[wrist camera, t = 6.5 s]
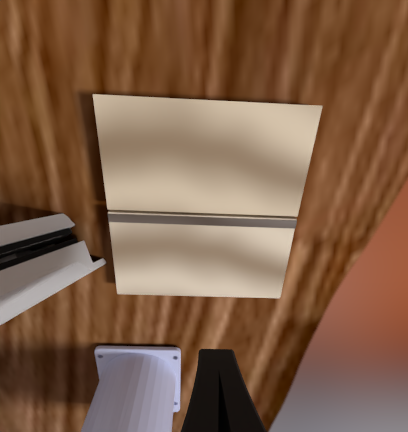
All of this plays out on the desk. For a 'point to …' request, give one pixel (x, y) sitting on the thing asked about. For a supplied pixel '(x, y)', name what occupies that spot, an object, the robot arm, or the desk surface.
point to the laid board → (200, 253)
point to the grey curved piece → (39, 262)
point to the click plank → (204, 154)
